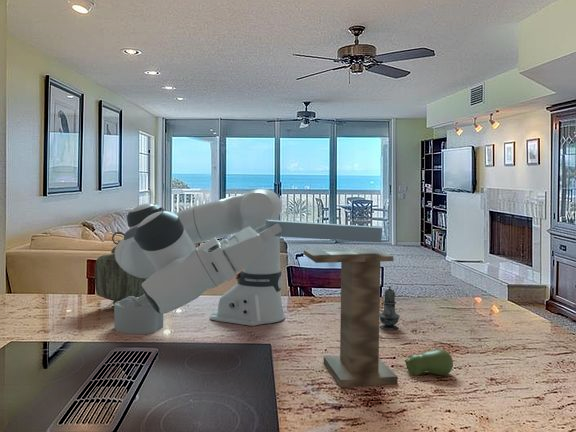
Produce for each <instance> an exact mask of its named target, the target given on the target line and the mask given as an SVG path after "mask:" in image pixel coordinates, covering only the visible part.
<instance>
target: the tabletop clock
mask: <svg viewBox="0 0 576 432" xmlns="http://www.w3.org/2000/svg"><path fill="white" fill-rule="evenodd" d="M116 235H122V236H123V237H124V235H125V233H124V232H123V231H115V232H114V233H112V237H111V240H112V242H113V244H114V245H116V246H117V244H118V243H119V242H120V241H121V240H118V241H117V242H116V241H115V239H114V237H115V236H116ZM116 246H114V247H113V248H112V250H111V252H110V254H104V255H101V256H99V257H98V258H96V260H95V263H94V287H95V293H96V295H97V296H98V297H100V298H103V299H106V300H109V301H112V304H113V306H112V307H111V310H112V311H113V312H114V304H115V303H116V302H117V301H120V300H122V299H125V298H127V297H129V296H134V297H136V298H138V297H140V296H142V295H144V293H143V291H142V287H141V284H142V283H143V282H144V281H145V280H146V279H147V278H138V277H135V276H133V275H131V274H129V273H127V272H125V271H124V270H123V269H122V268H121V267H120V266H119V265H118V263H117V261H116V259H115V249H116Z"/></svg>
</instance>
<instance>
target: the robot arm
mask: <svg viewBox="0 0 576 432" xmlns="http://www.w3.org/2000/svg"><path fill="white" fill-rule="evenodd" d="M282 206H283V205H282V201H281V198H280V197H279V195H278V194H277V193H276V192H275V191H272V190H271V189H266V188H258V189H253V190H250V191H248V192H245V193H241V194H238V195H234V196H230V197H226V198H220V199H217V200H214V201H209V202H206V203H202V204H198V205H194V206H192V207H188V208H185V209H182V210H180V211H177V212H172V211H171V210H169V209H165V208H164V207H162V206H161V205H159V204H156V203H143V204H140V205H137V206H136V207H134V208H132V210H130V211H129V212H128V214H126V221H127V226H128V227H129V229H128V230H127V231H126V232H125V233H124V234H125V235H124V236H123V238H122V239H121V240H119V241H120V242H119V243H118V242H117V243H118V244H117V245H116V246H115V247H116V249H115V259H116V261H117V263H118V265H119V266H120V267H121V268H122V269H123V270H124V271H125V272H127V273H129V274H131V275H133V276H135V277H138V278H146V280H145V281H144V282H143V283H142V284H141V287H142V291H143V293H144V295H145V296H146V297H147V299H148V300H149V302H150V303H151V305H152V306H153V308H154V309H155V310H156V311H157V312H158V313H160V314H163V315H164V314H167V313H170V312H173V311H175V310H177V309H179V308H181V307H183V306H186V305H187V304H189V303H191V302H193V301H194V300H196V299H198V298H199V297H200V296H201V295H203V293H205V292H206V291H208V290H210V289H214V288H217V287H218V286H220V285H221V284H223V283H225V282H227V281H230V280H233V279H235V280H237V283H236V284H235V285H233V286H232V287H231V288H230V289H228V290H227V291H226V292H225V293H223V294H222V295H221V297H219V300H218V306H217V309H215V310H214V311H212V312H211V313H210V317H209V318H210V320H211V321H215V322H216V321H217V322H223V323H224V322H225V323H232V324H238V325H245V326H259V325H263V324H264V325H265V324H272V323H273V324H274V323H277V322H282V321H284V320H285V319H286V315H285V312H284V307H283V302H282V294H281V293H282V292H281V290H282V283H283V281H282V279H283V278H282V271H281V261H280V260H281V241H280V237H278V236H275V235H276V234H278V233H279V232H281V231H282V229H281V227H280V225H279V224H277V223H275V224H274V225H272V226H270V227H269V228H268V229H266V220H279V221H280V219H279V217H280V215H281V212H282ZM230 235H231V236H230ZM226 236H227V237H228V236H230V237H228V238H227V237H226ZM223 237H226V238H223ZM218 238H223V239H222V240H220V241H219V240H218ZM203 242H204V243H203ZM199 243H201V244H200V245H198V246H197V247H196V245H195V244H199ZM237 272H239V273H237Z"/></svg>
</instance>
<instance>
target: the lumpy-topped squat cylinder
mask: <svg viewBox="0 0 576 432" xmlns="http://www.w3.org/2000/svg"><path fill="white" fill-rule="evenodd" d="M113 306H114V311H113V317H114V319H113V320H114V323H113V325H114V331H115V332H118V333H121V334H129V335H150V334H154V333H156V332H157V331H158V330H160V329H162V328H164V314H160V313H158V312H157V311H156V310H155V309H154V308H153V306H152V305H151V303H150V302H149V300H148V299H147V297H146V296H145V295H142V296H140V297H137V298H136V297H134V296H129V297H127V298H125V299H122V300H120V301H117V302H116V303H115V304H113Z"/></svg>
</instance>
